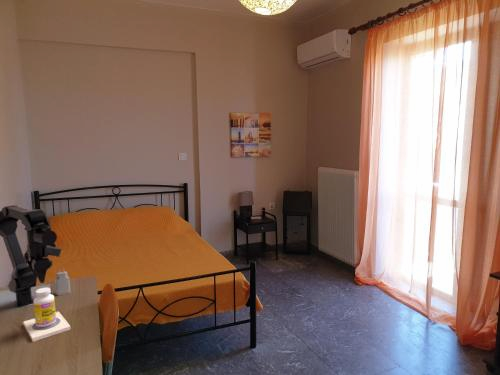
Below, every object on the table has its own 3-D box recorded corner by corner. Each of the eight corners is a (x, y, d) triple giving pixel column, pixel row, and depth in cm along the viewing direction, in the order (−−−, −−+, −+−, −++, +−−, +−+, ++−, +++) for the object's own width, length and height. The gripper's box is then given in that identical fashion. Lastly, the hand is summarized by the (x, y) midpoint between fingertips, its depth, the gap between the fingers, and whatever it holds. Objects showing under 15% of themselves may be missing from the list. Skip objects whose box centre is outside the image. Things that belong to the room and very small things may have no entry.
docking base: (23, 324, 136) (23, 321, 136) (58, 314, 144) (58, 310, 143) (32, 341, 124) (32, 338, 124) (70, 329, 132) (70, 325, 132)
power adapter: (56, 293, 164) (53, 267, 162) (69, 290, 167) (67, 265, 165) (57, 295, 161) (54, 269, 160) (70, 292, 164) (68, 267, 163)
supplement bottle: (41, 329, 129) (38, 295, 127) (32, 324, 133) (28, 291, 131) (60, 321, 135) (56, 288, 133) (50, 317, 138) (47, 284, 136)
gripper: (64, 242, 142) (68, 280, 144) (52, 233, 156) (55, 269, 158) (32, 248, 134) (36, 288, 136) (22, 238, 148) (26, 275, 150)
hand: (39, 279), depth 145 cm, fingers open, 9 cm apart
